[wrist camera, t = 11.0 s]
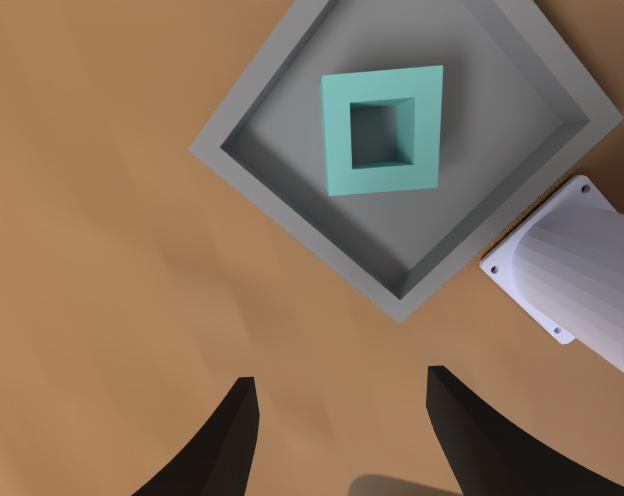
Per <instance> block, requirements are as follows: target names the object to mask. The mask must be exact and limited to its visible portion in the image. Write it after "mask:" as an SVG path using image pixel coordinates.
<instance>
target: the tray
mask: <svg viewBox="0 0 624 496" xmlns="http://www.w3.org/2000/svg"><path fill="white" fill-rule="evenodd" d="M440 65H443V80H442V102H441V124H440V145H439V167H438V188H427V189H414V190H401V191H388V192H375V193H362V194H349V195H336V196H329V195H328V192H327V189H326V182H325V166H324V150H323V134H322V118H321V102H320V83H321V77H322V75H334V74H345V73H357V72H369V71H381V70H393V69H404V68H416V67H428V66H440ZM623 119H624V117H623V116H622V115H621V113H620V112H619V111H618V109H617V108H616V107H615V106H614V104H613V103H612V102H611V100H610V99H609V98H608V97H607V95H606V94H605V93H604V91H603V90H602V89H601V88H600V86H599V85H598V84H597V82H596V81H595V80H594V79H593V77H592V76H591V75H590V73H589V72H588V71H587V70H586V68H585V67H584V66H583V64H582V63H581V62H580V61H579V59H578V58H577V57H576V55H575V54H574V53H573V52H572V50H571V49H570V48H569V46H568V45H567V44H566V43H565V41H564V40H563V39H562V37H561V36H560V35H559V33H558V32H557V31H556V30H555V28H554V27H553V26H552V24H551V23H550V22H549V21H548V19H547V18H546V17H545V15H544V14H543V13H542V12H541V10H540V9H539V8H538V6H537V5H536V4H535V3H534V1H533V0H295V1H294V2H293V4H292V5H291V6H290V8H289V9H288V11H287V12H286V13H285V15H284V16H283V17H282V19H281V20H280V22H279V23H278V24H277V26H276V27H275V29H274V30H273V31H272V33H271V34H270V36H269V37H268V38H267V40H266V41H265V43H264V44H263V45H262V47H261V48H260V50H259V51H258V52H257V54H256V55H255V56H254V58H253V59H252V61H251V62H250V63H249V65H248V66H247V68H246V69H245V70H244V72H243V73H242V75H241V76H240V77H239V79H238V80H237V82H236V83H235V84H234V86H233V87H232V89H231V90H230V91H229V93H228V94H227V95H226V97H225V98H224V100H223V101H222V102H221V104H220V105H219V107H218V108H217V109H216V111H215V112H214V114H213V115H212V116H211V118H210V119H209V121H208V122H207V123H206V125H205V126H204V128H203V129H202V130H201V132H200V133H199V134H198V136H197V137H196V139H195V140H194V141H193V143H192V144H191V146H190V147H189V148H188V151H189V152H191V153H192V154H193V155H194V156H196V157H197V158H198V159H199V160H200V161H202V162H203V163H204V164H205V165H206V166H208V167H209V168H210V169H211V170H213V171H214V172H215V173H216V174H217V175H219V176H220V177H221V178H222V179H223V180H225V181H226V182H227V183H228V184H229V185H231V186H232V187H233V188H234V189H236V190H237V191H238V192H239V193H240V194H242V195H243V196H244V197H245V198H246V199H248V200H249V201H250V202H251V203H253V204H254V205H255V206H256V207H257V208H259V209H260V210H261V211H262V212H263V213H265V214H266V215H267V216H268V217H270V218H271V219H272V220H273V221H274V222H276V223H277V224H278V225H279V226H280V227H282V228H283V229H284V230H285V231H287V232H288V233H289V234H290V235H291V236H293V237H294V238H295V239H296V240H297V241H299V242H300V243H301V244H302V245H304V246H305V247H306V248H307V249H308V250H310V251H311V252H312V253H313V254H314V255H316V256H317V257H318V258H319V259H321V260H322V261H323V262H324V263H325V264H327V265H328V266H329V267H330V268H331V269H333V270H334V271H335V272H336V273H338V274H339V275H340V276H341V277H342V278H344V279H345V280H346V281H347V282H348V283H350V284H351V285H352V286H353V287H355V288H356V289H357V290H358V291H359V292H361V293H362V294H363V295H364V296H365V297H367V298H368V299H369V300H370V301H372V302H373V303H374V304H375V305H376V306H378V307H379V308H380V309H381V310H382V311H384V312H385V313H386V314H387V315H389V316H390V317H391V318H392V319H393V320H395V321H396V322H397V323H398V324H399V325H400V324H401V323H402V322H403V321H404V320H405V319H406V318H407V317H408V316H410V315H411V314H412V313H413V312H414V311H415V310H416V309H417V308H418V307H419V306H420V305H422V304H423V303H424V302H425V301H426V300H427V299H428V298H429V297H430V296H431V295H432V294H434V293H435V292H436V291H437V290H438V289H439V288H440V287H441V286H442V285H443V284H444V283H446V282H447V281H448V280H449V279H450V278H451V277H452V276H453V275H454V274H455V273H456V272H457V271H459V270H460V269H461V268H462V267H463V266H464V265H465V264H466V263H467V262H468V261H469V260H471V259H472V258H473V257H474V256H475V255H476V254H477V253H478V252H479V251H480V250H481V249H483V248H484V247H485V246H486V245H487V244H488V243H489V242H490V241H491V240H492V239H493V238H495V237H496V236H497V235H498V234H499V233H500V232H501V231H502V230H503V229H504V228H505V227H507V226H508V225H509V224H510V223H511V222H512V221H513V220H514V219H515V218H516V217H517V216H519V215H520V214H521V213H522V212H523V211H524V210H525V209H526V208H527V207H528V206H529V205H531V204H532V203H533V202H534V201H535V200H536V199H537V198H538V197H539V196H540V195H541V194H542V193H544V192H545V191H546V190H547V189H548V188H549V187H550V186H551V185H552V184H553V183H554V182H556V181H557V180H558V179H559V178H560V177H561V176H562V175H563V174H564V173H565V172H566V171H568V170H569V169H570V168H571V167H572V166H573V165H574V164H575V163H576V162H577V161H578V160H580V159H581V158H582V157H583V156H584V155H585V154H586V153H587V152H588V151H589V150H590V149H592V148H593V147H594V146H595V145H596V144H597V143H598V142H599V141H600V140H601V139H602V138H604V137H605V136H606V135H607V134H608V133H609V132H610V131H611V130H612V129H613V128H614V127H616V126H617V125H618V124H619V123H620V122H621V121H622V120H623ZM350 126H351V153H352V165H353V164H366V163H378V162H391V161H396V106H389V107H377V108H365V109H352V110H350Z"/></svg>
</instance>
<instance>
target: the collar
mask: <svg viewBox="0 0 624 496" xmlns="http://www.w3.org/2000/svg"><path fill="white" fill-rule="evenodd" d="M442 80H443V65H440V66H428V67H416V68H404V69H393V70H381V71H369V72H357V73H345V74H334V75H322V77H321V83H320V102H321V118H322V134H323V150H324V166H325V182H326V189H327V192H328V195H329V196H336V195H349V194H362V193H375V192H388V191H401V190H414V189H427V188H438V167H439V145H440V124H441V102H442ZM389 106H396V161H391V162H378V163H366V164H353V165H352V153H351V126H350V110H352V109H365V108H377V107H389Z"/></svg>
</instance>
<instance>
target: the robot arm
mask: <svg viewBox="0 0 624 496" xmlns="http://www.w3.org/2000/svg"><path fill="white" fill-rule="evenodd" d="M583 186H585V189H584V191H581V189H582V187H583ZM494 266H496V267H495V270H493V271H491V268H492V267H494ZM480 267H481V269H482V270H483V271H484V272H485V273H486V274H487V275H489V276H490V277H491V278H492V279H493V280H494V281H495V282H496V283H497V284H498V285H499V286H500V287H501V288H502V289H503V290H504V291H505V292H506V293H507V294H509V295H510V296H511V297H512V298H513V299H514V300H515V301H516V302H517V303H518V304H519V305H520V306H521V307H522V308H523V309H524V310H525V311H526V312H528V313H529V314H530V315H531V316H532V317H533V318H534V319H535V320H536V321H537V322H538V323H539V324H540V325H541V326H542V327H543V328H544V329H545V330H546V331H548V332H549V333H550V334H551V335H552V336H553V337H554V338H555V339H556V340H557V341H558V342H560V343H561V344H567V343H569V342H571V341H572V340H573V339H575V338H577V339H578V340H580V341H581V342H582V343H584V344H585V345H587V346H588V347H589V348H591V349H592V350H593V351H595V352H596V353H598V354H599V355H600V356H602V357H603V358H604V359H606V360H607V361H609V362H610V363H611V364H613V365H614V366H615V367H617V368H618V369H620V370H621V371H622V372H624V214H621V213H618V212H617V211H616V210H615V209H614V208H613V206H612V205H611V204H610V203H609V202H608V201H607V199H606V198H605V197H604V196H603V195H602V194H601V192H600V191H599V190H598V189H597V188H596V187H595V185H594V184H593V183H592V182H591V181H590V180H589V178H588V177H586V176H585V175H575V176H573V177H572V178H571V179H570V180H568V181H567V182H566V183H565V184H564V185H563V186H562V187H561V188H560V189H559V190H557V191H556V192H555V193H554V194H553V195H552V196H551V197H550V198H549V199H548V200H546V201H545V202H544V203H543V204H542V205H541V206H540V207H539V208H538V209H537V210H535V211H534V212H533V213H532V214H531V215H530V216H529V217H528V218H527V219H526V220H524V221H523V222H522V223H521V224H520V225H519V226H518V227H517V228H516V229H514V230H513V231H512V232H511V233H510V234H509V235H508V236H507V237H506V238H505V239H503V240H502V241H501V242H500V243H499V244H498V245H497V246H496V247H495V248H494V249H492V250H491V251H490V252H489V253H488V254H487V255H486V256H485V257H484V258H483V259H482V260H481V261H480ZM555 328H557V329H556V330H555ZM426 408H427V411H428V414H429V417H430V420H431V423H432V426H433V429H434V432H435V434H436V436H437V438H438V440H439V443H440V445H441V447H442V449H443V451H444V453H445V456H446V458H447V460H448V462H449V464H450V466H451V468H452V471H453V473H454V475H455V477H456V479H457V481H458V483H459V485H460V488H461V490H462V492H463V494H464V496H624V487H623V486H621V485H619V484H616V483H614V482H612V481H610V480H608V479H606V478H604V477H602V476H601V475H599V474H597V473H595V472H593V471H591V470H589V469H587V468H585V467H583V466H581V465H579V464H578V463H576V462H574V461H572V460H570V459H569V458H567V457H565V456H564V455H562V454H560V453H558V452H557V451H555V450H553V449H552V448H550V447H548V446H547V445H545V444H543V443H542V442H540V441H539V440H537V439H536V438H534V437H533V436H531V435H530V434H528V433H527V432H525V431H524V430H522V429H521V428H519V427H518V426H516V425H515V424H513V423H512V422H511V421H509V420H508V419H507V418H505V417H504V416H503V415H501V414H500V413H499V412H497V411H496V410H495V409H493V408H492V407H491V406H490V405H488V404H487V403H486V402H485V401H484V400H482V399H481V398H480V397H479V396H477V395H476V394H475V393H474V392H473V391H472V390H470V389H469V388H468V387H467V386H466V385H465V384H464V383H462V382H461V381H460V380H459V379H458V378H457V377H456V376H455V375H453V374H452V373H451V372H450V371H449V370H448V369H447V368H445V367H444V366H443V365H441V366H428V378H427V396H426ZM259 417H260V415H259V408H258V401H257V395H256V388H255V382H254V377H239V378H238V379H237V381H236V382H235V383H234V385H233V386H232V388H231V389H230V391H229V392H228V393H227V395H226V396H225V398H224V399H223V400H222V402H221V403H220V405H219V406H218V407H217V408H216V410H215V411H214V412H213V414H212V415H211V416H210V418H209V419H208V420H207V421H206V423H205V424H204V425H203V426H202V427H201V429H200V430H199V431H198V432H197V433H196V434H195V436H194V437H193V438H192V439H191V440H190V441H189V442H188V444H187V445H186V446H185V447H184V448H183V449H182V450H181V451H180V452H179V453H178V454H177V455H176V456H175V457H174V458H173V459H172V460H171V461H170V462H169V463H168V464H167V465H166V466H165V467H164V468H163V469H162V470H160V471H159V472H158V473H157V474H156V475H155V476H154V477H153V478H152V479H151V480H149V481H148V482H147V483H146V484H145V485H144V486H142V487H141V488H140V489H139V490H137V491H136V492H135V493H134V494H133V495H131V496H244V495H245V490H246V486H247V482H248V477H249V473H250V469H251V464H252V460H253V456H254V451H255V447H256V442H257V434H258V426H259Z"/></svg>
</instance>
